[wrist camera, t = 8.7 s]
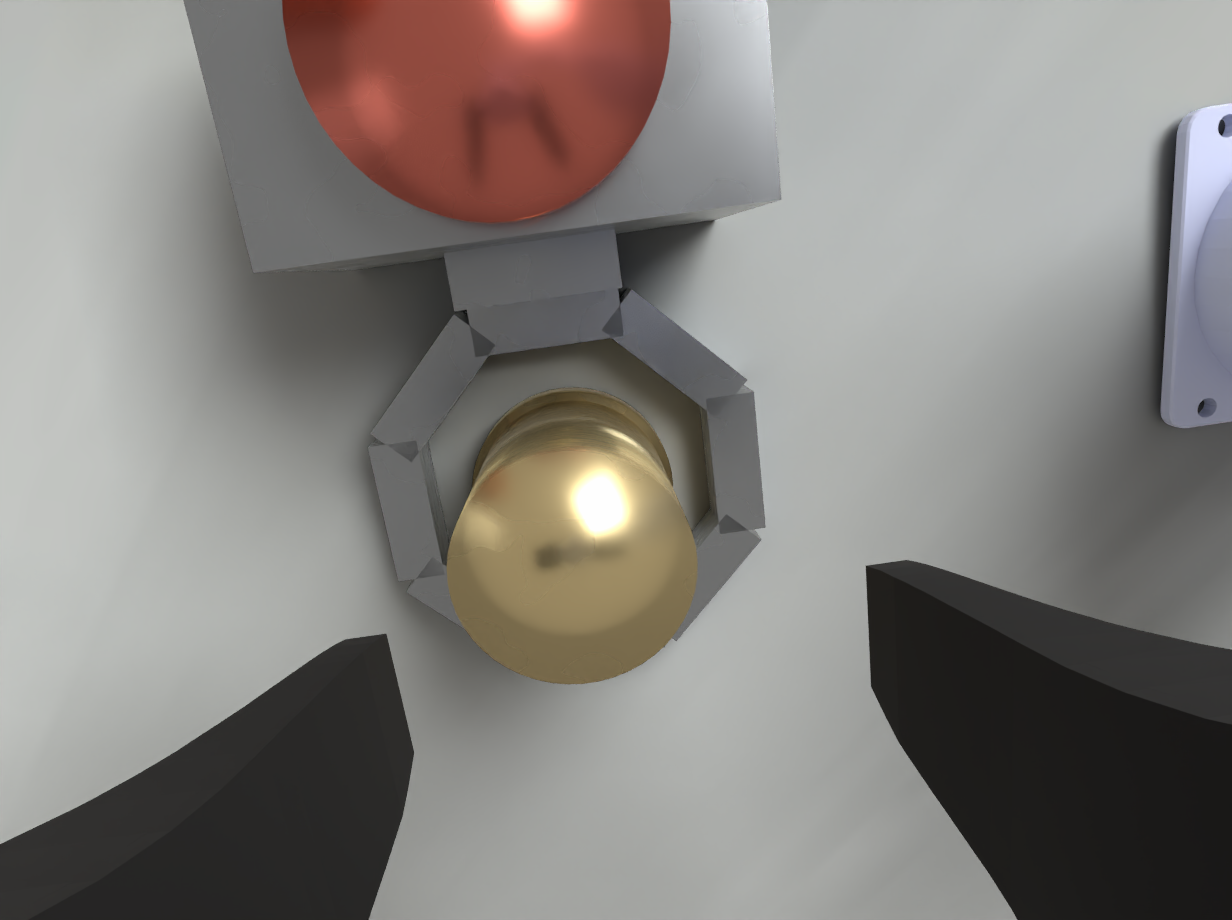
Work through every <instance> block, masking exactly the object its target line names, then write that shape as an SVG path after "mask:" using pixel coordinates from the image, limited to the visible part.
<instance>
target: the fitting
mask: <svg viewBox="0 0 1232 920" xmlns="http://www.w3.org/2000/svg"><path fill="white" fill-rule="evenodd" d="M697 567H698V561H697V552H696V546H695V542H694V538H693V534H692V531H691V529H690V526H689V524H688V521H687V519H686V517H685V514H684V512H683V510H682V508H681V505H680V503H679V501H678V498H677V496H676V494H675V492H674V489H673V480H672V472H671V468H670V464H669V460H668V457H667V455H666V452H665V450H664V447H663V445H662V443H661V441H660V439H659V438H658V436H657V434H656V432H655V431H654V429H653V428H652V427H651V425H650V424H649V423H648V421H647V420H646V419H645V418H644V417H643V416H642V415H641V414H640V413H639V412H638V411H637V410H635V409H634V408H633V407H631V406H630V405H629V404H627V403H626V402H624V401H622V400H620V399H618V398H617V397H615V396H612V395H610V394H607V393H605V392H601V391H597V390H593V389H587V388H579V387H573V388H559V389H552V390H548V391H545V392H541V393H538V394H536V395H533V396H531V397H529V398H527V399H525V400H523V401H522V402H520V403H518V404H517V405H515V406H514V407H513V408H511V409H510V410H509V411H508V412H506V413H505V414H504V416H503V417H502V418H501V419H500V420H499V421H498V422H497V423H496V424H495V426H494V427H493V429H492V430H491V431H490V433H489V435H488V437H487V438H486V440H485V442H484V444H483V446H482V448H481V450H480V453H479V455H478V458H477V461H476V464H475V468H474V473H473V482H472V490H471V492H470V494H469V497H468V499H467V501H466V503H465V506H464V508H463V510H462V512H461V515H460V517H459V519H458V521H457V524H456V526H455V529H454V532H453V534H452V537H451V541H450V545H449V550H448V556H447V582H448V588H449V593H450V597H451V601H452V603H453V606H454V609H455V612H456V614H457V616H458V618H459V620H460V622H461V623H462V625H463V627H464V628H465V630H466V631H467V633H468V634H469V635H470V637H471V638H472V639H473V640H474V642H475V643H476V644H477V645H478V646H479V647H480V648H481V649H482V650H483V651H484V652H485V653H487V654H488V655H489V656H490V657H492V658H493V659H494V660H495V661H497V662H499V663H500V664H502V665H503V666H505V667H507V668H508V669H510V670H513V671H515V672H517V673H519V674H521V675H524V676H527V677H530V678H533V679H536V680H540V681H545V682H550V683H560V684H584V683H591V682H598V681H602V680H606V679H609V678H613V677H616V676H618V675H621V674H623V673H626V672H628V671H630V670H632V669H634V668H636V667H637V666H639V665H641V664H643V663H644V662H645V661H647V660H648V659H650V658H651V657H652V656H654V655H655V654H656V653H657V652H658V651H659V650H660V649H662V648H663V647H664V646H665V645H666V644H667V643H668V641H669V640H670V639H671V638H672V637H673V635H674V634H675V633H676V632H677V630H678V628H679V627H680V625H681V624H682V622H683V621H684V619H685V617H686V614H687V612H688V610H689V608H690V606H691V602H692V599H693V596H694V593H695V588H696V582H697Z"/></svg>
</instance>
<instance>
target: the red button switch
mask: <svg viewBox="0 0 1232 920" xmlns="http://www.w3.org/2000/svg"><path fill="white" fill-rule="evenodd" d="M184 4H185V8H186V12H187V16H188V20H189V24H190V28H191V32H192V35H193V39H194V43H195V47H196V51H197V55H198V59H199V63H200V67H201V71H202V75H203V79H204V82H205V86H206V90H207V94H208V98H209V102H210V106H211V110H212V114H213V118H214V122H215V125H216V129H217V133H218V137H219V141H220V145H221V149H222V153H223V157H224V161H225V165H226V168H227V172H228V176H229V180H230V184H231V188H232V192H233V196H234V200H235V204H236V208H237V211H238V215H239V219H240V223H241V227H242V231H243V235H244V239H245V243H246V247H247V251H248V254H249V258H250V262H251V266H252V270H253V273H267V272H303V271H338V270H359V269H366V268H373V267H380V266H388V265H395V264H402V263H409V262H416V261H423V260H431V259H438V258H444V259H445V265H446V270H447V275H448V281H449V286H450V291H451V296H452V302H453V307H454V311H460V312H458V313H456V314H454V315H453V316H452V317H451V319H450V320H449V322H448V323H447V325H446V326H445V327H444V329H443V330H442V332H441V333H440V335H439V336H438V337H437V339H436V340H435V342H434V343H433V345H432V346H431V347H430V349H429V350H428V352H427V353H426V355H425V356H424V357H423V359H422V360H421V362H420V363H419V365H418V366H417V368H416V369H415V370H414V372H413V373H412V375H411V376H410V378H409V379H408V380H407V382H406V383H405V385H404V386H403V388H402V389H401V390H400V392H399V393H398V395H397V396H396V398H395V399H394V400H393V402H392V403H391V405H390V406H389V408H388V409H387V410H386V412H385V413H384V415H383V416H382V418H381V419H380V420H379V422H378V423H377V425H376V426H375V428H374V429H373V430H372V432H371V433H370V434H371V435H372V436H374V437H375V438H377V439H376V440H375V441H374V442H373V443H372V444H371V445H370V446H368V452H369V456H370V461H371V465H372V469H373V474H374V478H375V482H376V487H377V491H378V495H379V500H380V504H381V508H382V513H383V517H384V521H385V526H386V530H387V534H388V539H389V543H390V547H391V552H392V556H393V560H394V565H395V569H396V573H397V578H398V582H399V581H405V580H412V579H413V580H412V582H411V583H410V585H409V587H408V589H407V591H406V592H407V593H408V594H410V595H411V596H413V597H415V598H416V599H418V600H419V601H421V602H422V603H424V604H426V605H427V606H429V607H430V608H432V609H433V610H435V611H437V612H438V613H440V614H441V615H443V616H444V617H446V618H448V619H449V620H451V621H452V622H454V623H456V624H457V625H459V626H460V627H462V628H463V629H465V628H464V627H463V625H462V623H461V622H460V620H459V618H458V616H457V614H456V612H455V609H454V606H453V603H452V601H451V597H450V593H449V588H448V582H447V556H448V550H449V540H448V535H447V531H446V526H445V521H444V516H443V511H442V506H441V502H440V497H439V492H438V487H437V482H436V478H435V473H434V468H433V463H432V458H431V453H430V449H429V444H428V440H429V439H430V438H431V436H432V435H433V433H434V432H435V431H436V429H437V428H438V427H439V425H440V424H441V422H442V421H443V420H444V418H445V417H446V415H447V414H448V413H449V411H450V410H451V408H452V407H453V406H454V404H455V403H456V401H457V400H458V399H459V397H460V396H461V395H462V393H463V392H464V390H465V389H466V388H467V386H468V385H469V383H470V382H471V381H472V379H473V378H474V376H475V375H476V374H477V372H478V371H479V369H480V368H481V367H482V365H483V364H484V363H485V361H486V360H487V358H488V357H489V356H490V355H495V354H502V353H509V352H516V351H523V350H530V349H537V348H545V347H552V346H559V345H566V344H573V343H580V342H587V341H594V340H601V339H608V338H612V339H614V340H615V341H616V342H617V343H619V344H620V345H621V346H623V347H624V348H625V349H627V350H628V351H629V352H631V353H632V354H633V355H634V356H636V357H637V358H638V359H640V360H641V361H642V362H644V363H645V364H646V365H648V366H649V367H650V368H652V369H653V370H654V371H655V372H657V373H658V374H659V375H661V376H662V377H663V378H665V379H666V380H667V381H669V382H670V383H671V384H672V385H674V386H675V387H676V388H678V389H679V390H680V391H682V392H683V393H684V394H686V395H687V396H688V397H690V398H691V399H692V400H693V401H695V402H696V403H697V404H699V405H700V415H701V424H702V433H703V443H704V452H705V461H706V471H707V480H708V489H709V499H710V510H709V511H708V512H707V513H706V514H705V516H704V517H703V518H702V519H701V521H700V522H699V523H698V524H697V525H696V527H695V528H694V529H693V530H692V534H693V538H694V542H695V546H696V552H697V561H698V567H697V582H696V588H695V593H694V596H693V599H692V602H691V606H690V608H689V610H688V612H687V614H686V617H685V619H684V621H683V622H682V624H681V625H680V627H679V628H678V630H677V632H676V633H675V634H674V635H673V637H672V639H674V640H675V641H677V639H678V638H679V637H680V636H681V635H682V634H683V632H684V631H685V630H686V629H687V628H688V626H689V625H690V624H691V623H692V622H693V620H694V619H695V618H696V617H697V616H698V615H699V613H700V612H701V611H702V610H703V609H704V607H705V606H706V605H707V604H708V603H709V601H710V600H711V599H712V598H713V597H714V596H715V594H716V593H717V592H718V591H719V590H720V588H721V587H722V586H723V585H724V584H725V582H726V581H727V580H728V579H729V578H730V576H731V575H732V574H733V573H734V572H735V571H736V569H737V568H738V567H739V566H740V565H741V563H742V562H743V561H744V560H745V559H746V557H747V556H748V555H749V554H750V553H751V552H752V550H753V549H754V548H755V547H756V546H757V544H758V543H759V542H760V541H761V538H760V537H759V535H758V534H757V532H756V531H755V529H759V528H765V516H764V505H763V493H762V482H761V470H760V459H759V447H758V436H757V424H756V413H755V402H754V392H753V391H752V390H750V389H749V388H748V387H746V386H745V385H744V383H745V382H746V381H747V379H746V378H744V377H743V376H742V375H740V374H739V373H738V372H737V371H735V370H734V369H733V368H731V367H730V366H729V365H728V364H726V363H725V362H724V361H723V360H721V359H720V358H719V357H717V356H716V355H715V354H714V353H712V352H711V351H710V350H709V349H707V348H706V347H705V346H703V345H702V344H701V343H700V342H698V341H697V340H696V339H695V338H693V337H692V336H691V335H689V334H688V333H687V332H686V331H684V330H683V329H682V328H681V327H679V326H678V325H677V324H675V323H674V322H673V321H672V320H670V319H669V318H668V317H667V316H665V315H664V314H663V313H661V312H660V311H659V310H658V309H656V308H655V307H654V306H653V305H651V304H650V303H649V302H647V301H646V300H645V299H644V298H642V297H641V296H640V295H638V294H637V293H636V292H635V291H633V290H632V289H630V288H628V289H627V290H626V291H625V293H624V294H623V295H622V297H621V298H620V299H619V292H618V288H622V281H621V273H620V265H619V257H618V250H617V242H616V234H617V233H624V232H632V231H639V230H646V229H653V228H660V227H668V226H675V225H682V224H689V223H696V222H703V221H711V220H717V219H720V218H723V217H726V216H730V215H733V214H736V213H739V212H743V211H746V210H749V209H752V208H755V207H759V206H762V205H765V204H768V203H772V202H775V201H778V200H781V188H780V174H779V160H778V146H777V133H776V119H775V105H774V91H773V77H772V63H771V49H770V36H769V22H768V8H767V0H184ZM461 310H467V314H468V316H467V315H466V314H464V313H463V312H462V311H461ZM664 647H665V646H664Z"/></svg>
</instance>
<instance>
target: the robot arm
mask: <svg viewBox="0 0 1232 920" xmlns="http://www.w3.org/2000/svg"><path fill="white" fill-rule="evenodd" d="M1221 119H1223V121H1224V122H1225V130H1224V133H1223V135H1222V136H1221V135H1220V134H1219V132H1218V125H1219V122H1220V120H1221ZM1202 400H1204V403H1205V404H1204V407H1203V409H1202V410H1201V411H1200V412H1199V413H1198V410H1197V409H1198V406H1199V404H1200V403H1201V401H1202ZM1161 417H1162V419H1163V420H1164V422H1165V423H1167V424H1169V425H1171V426H1174V427H1178V428H1191V427H1198V426H1205V425H1212V424H1219V423H1225V422H1232V103H1231V104H1224V105H1217V106H1209V107H1205V108H1201V109H1197V110H1194V111H1192V112H1190V113H1189V114H1187V115H1186V116H1185V117H1184V118H1183V119H1182V121H1181V123H1180V124H1179V127H1178V131H1177V141H1176V158H1175V175H1174V192H1173V209H1172V225H1171V242H1170V259H1169V276H1168V293H1167V310H1166V327H1165V344H1164V360H1163V377H1162V394H1161ZM866 579H867V601H868V624H869V647H870V670H871V687H872V689H873V691H874V693H875V695H876V698H877V700H878V702H879V704H880V706H881V708H882V710H883V712H884V714H885V716H886V718H887V720H888V722H889V724H890V726H891V728H892V730H893V732H894V734H895V736H896V738H897V739H898V741H899V743H900V745H901V746H902V748H903V749H904V751H905V752H906V754H907V755H908V757H909V758H910V760H911V761H912V763H913V764H914V766H915V767H916V769H917V770H918V772H919V773H920V775H921V776H922V777H923V779H924V780H925V782H926V783H927V785H928V786H929V788H930V789H931V791H932V792H933V794H934V795H935V796H936V798H937V799H938V801H939V802H940V804H941V805H942V806H943V808H944V809H945V811H946V812H947V814H948V815H949V817H950V818H951V819H952V821H953V822H954V824H955V825H956V827H957V828H958V830H959V831H960V832H961V834H962V835H963V837H964V838H965V840H966V841H967V842H968V844H969V845H970V847H971V848H972V850H973V851H974V853H975V854H976V855H977V857H978V858H979V860H980V861H981V863H982V864H983V866H984V867H985V868H986V870H987V871H988V873H989V874H990V876H991V877H992V879H993V880H994V882H995V884H996V885H997V887H998V888H999V890H1000V891H1001V893H1002V895H1003V896H1004V898H1005V899H1006V901H1007V903H1008V904H1009V906H1010V907H1011V909H1012V911H1013V912H1014V914H1015V916H1016V918H1017V920H1232V650H1230V649H1225V648H1219V647H1214V646H1208V645H1203V644H1198V643H1193V642H1189V641H1184V640H1180V639H1175V638H1171V637H1166V636H1162V635H1157V634H1153V633H1148V632H1144V631H1139V630H1135V629H1131V628H1127V627H1123V626H1119V625H1116V624H1112V623H1108V622H1104V621H1101V620H1098V619H1094V618H1091V617H1087V616H1084V615H1080V614H1077V613H1073V612H1070V611H1066V610H1063V609H1060V608H1057V607H1053V606H1050V605H1047V604H1044V603H1041V602H1038V601H1034V600H1031V599H1028V598H1025V597H1022V596H1019V595H1016V594H1013V593H1010V592H1007V591H1004V590H1002V589H999V588H996V587H993V586H990V585H987V584H984V583H981V582H978V581H975V580H972V579H970V578H967V577H964V576H961V575H958V574H955V573H952V572H949V571H946V570H943V569H940V568H936V567H933V566H930V565H926V564H922V563H918V562H914V561H908V560H904V561H897V562H890V563H883V564H876V565H869V566H866ZM413 756H414V750H413V746H412V741H411V737H410V733H409V729H408V724H407V720H406V716H405V712H404V707H403V703H402V699H401V694H400V690H399V686H398V682H397V677H396V673H395V669H394V665H393V660H392V656H391V652H390V647H389V643H388V639H387V635H386V634H381V635H374V636H367V637H360V638H353V639H346V640H344V641H342V642H340V643H338V644H336V645H334V646H332V647H330V648H329V649H327V650H326V651H324V652H322V653H321V654H319V655H318V656H316V657H315V658H313V659H312V660H310V661H309V662H308V663H306V664H305V665H303V666H302V667H300V668H299V669H297V670H296V671H295V672H293V673H292V674H290V675H289V676H287V677H286V678H285V679H283V680H282V681H280V682H279V683H277V684H276V685H275V686H273V687H272V688H270V689H269V690H268V691H266V692H265V693H263V694H262V695H260V696H259V697H258V698H256V699H255V700H253V701H252V702H250V703H249V704H248V705H246V706H245V707H243V708H242V709H240V710H239V711H237V712H236V713H234V714H233V715H231V716H230V717H228V718H227V719H225V720H224V721H222V722H221V723H219V724H217V725H216V726H214V727H213V728H211V729H210V730H208V731H207V732H205V733H204V734H202V735H201V736H199V737H198V738H196V739H195V740H193V741H191V742H190V743H188V744H187V745H185V746H184V747H182V748H181V749H179V750H178V751H176V752H174V753H173V754H171V755H170V756H168V757H166V758H165V759H163V760H161V761H160V762H158V763H156V764H155V765H153V766H151V767H149V768H148V769H146V770H144V771H143V772H141V773H139V774H138V775H136V776H134V777H132V778H130V779H129V780H127V781H125V782H123V783H121V784H119V785H118V786H116V787H114V788H112V789H110V790H109V791H107V792H105V793H103V794H101V795H99V796H98V797H96V798H94V799H92V800H90V801H88V802H86V803H84V804H83V805H81V806H79V807H77V808H75V809H73V810H71V811H69V812H66V813H64V814H62V815H60V816H58V817H56V818H54V819H52V820H50V821H48V822H46V823H44V824H42V825H39V826H37V827H35V828H33V829H31V830H29V831H27V832H25V833H23V834H21V835H19V836H17V837H14V838H12V839H10V840H8V841H6V842H4V843H2V844H0V920H368V919H369V916H370V913H371V910H372V907H373V904H374V901H375V898H376V895H377V892H378V889H379V887H380V884H381V881H382V878H383V875H384V872H385V869H386V866H387V863H388V859H389V856H390V853H391V850H392V847H393V844H394V841H395V838H396V835H397V832H398V829H399V825H400V822H401V819H402V816H403V811H404V806H405V801H406V796H407V791H408V786H409V780H410V774H411V768H412V762H413Z"/></svg>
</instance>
